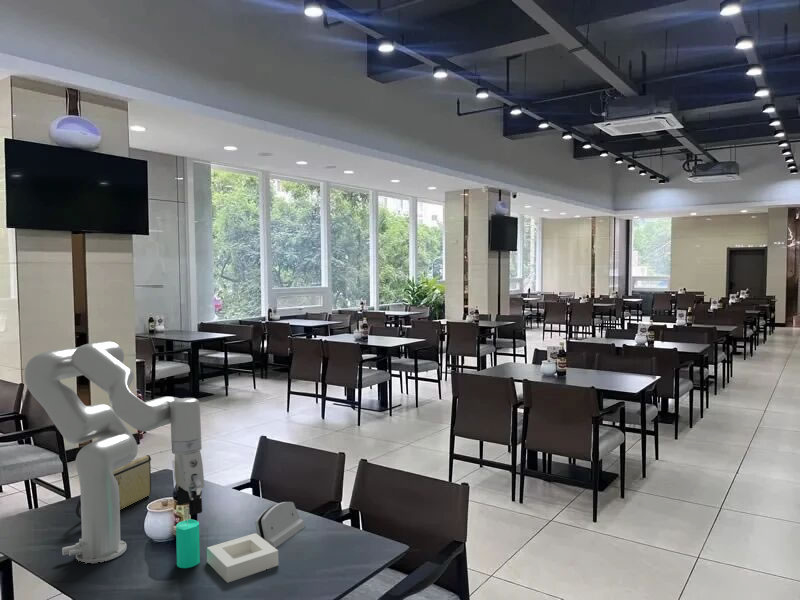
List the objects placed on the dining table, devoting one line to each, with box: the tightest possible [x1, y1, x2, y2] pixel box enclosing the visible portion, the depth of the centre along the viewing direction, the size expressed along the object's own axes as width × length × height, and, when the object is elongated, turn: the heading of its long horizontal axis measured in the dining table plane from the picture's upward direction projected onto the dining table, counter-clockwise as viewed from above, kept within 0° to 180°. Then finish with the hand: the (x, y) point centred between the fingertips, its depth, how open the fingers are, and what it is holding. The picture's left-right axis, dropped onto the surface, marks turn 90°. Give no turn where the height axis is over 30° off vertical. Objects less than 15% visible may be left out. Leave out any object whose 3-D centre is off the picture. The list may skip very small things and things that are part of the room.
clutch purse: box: [75, 454, 152, 519], centre depth 191 cm, size 30×7×15 cm, turn 163°
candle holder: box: [206, 532, 279, 584], centre depth 153 cm, size 14×14×4 cm
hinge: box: [254, 501, 306, 549], centre depth 171 cm, size 17×5×10 cm, turn 157°
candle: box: [175, 518, 201, 569], centre depth 154 cm, size 6×6×12 cm
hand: (189, 508), depth 154 cm, fingers open, 9 cm apart
